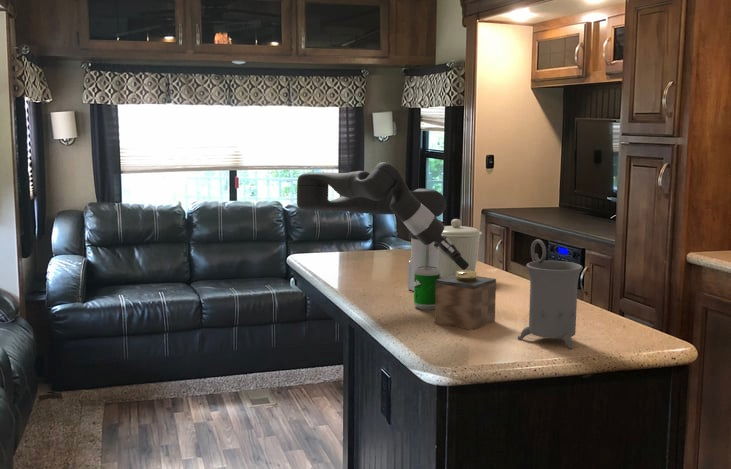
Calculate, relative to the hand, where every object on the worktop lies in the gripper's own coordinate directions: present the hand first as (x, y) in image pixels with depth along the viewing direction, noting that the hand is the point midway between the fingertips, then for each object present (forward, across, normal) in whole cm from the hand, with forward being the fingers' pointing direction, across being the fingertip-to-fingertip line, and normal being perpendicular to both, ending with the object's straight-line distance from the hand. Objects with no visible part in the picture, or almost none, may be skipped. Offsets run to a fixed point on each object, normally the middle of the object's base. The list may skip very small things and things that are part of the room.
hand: (465, 267), depth 214 cm
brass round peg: (+10, 0, -9) cm, 13 cm away
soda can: (+7, -19, -15) cm, 25 cm away
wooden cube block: (+11, 0, -11) cm, 15 cm away
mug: (+22, +21, 0) cm, 30 cm away
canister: (+22, -61, 0) cm, 65 cm away
